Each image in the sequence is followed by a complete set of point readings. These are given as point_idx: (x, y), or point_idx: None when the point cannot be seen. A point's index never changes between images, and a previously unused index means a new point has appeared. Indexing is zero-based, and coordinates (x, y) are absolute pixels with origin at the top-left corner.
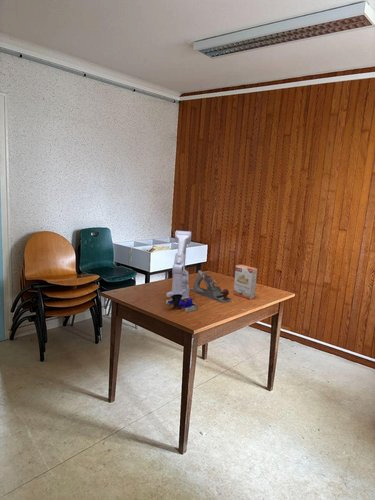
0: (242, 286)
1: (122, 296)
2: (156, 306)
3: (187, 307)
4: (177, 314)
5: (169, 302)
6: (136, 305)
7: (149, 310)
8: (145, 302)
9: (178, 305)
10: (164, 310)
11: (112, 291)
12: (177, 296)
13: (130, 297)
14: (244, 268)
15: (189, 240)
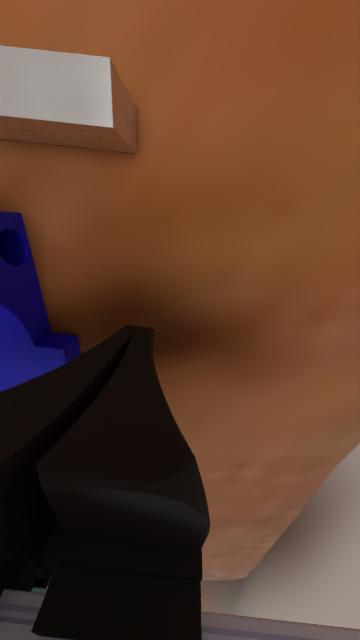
0: None
1: (224, 557)
2: (233, 442)
3: (61, 113)
4: (326, 160)
5: None
6: (302, 501)
7: (356, 430)
8: (217, 498)
9: (73, 354)
10: (279, 364)
11: (203, 578)
12: (113, 520)
13: (209, 544)
14: None
15: None
